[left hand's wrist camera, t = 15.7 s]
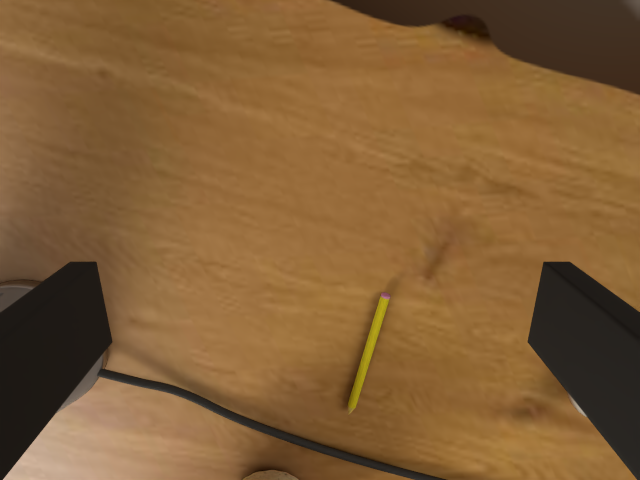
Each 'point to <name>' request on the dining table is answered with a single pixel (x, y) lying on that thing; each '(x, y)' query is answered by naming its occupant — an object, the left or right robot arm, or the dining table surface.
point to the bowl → (270, 475)
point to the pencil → (368, 350)
